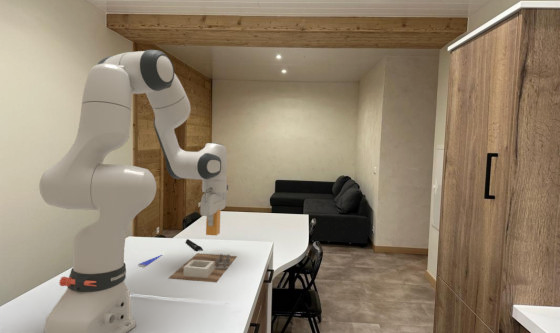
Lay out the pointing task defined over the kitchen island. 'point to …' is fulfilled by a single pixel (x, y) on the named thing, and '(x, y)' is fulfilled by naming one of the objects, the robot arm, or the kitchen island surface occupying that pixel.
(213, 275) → the board
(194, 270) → the end holder
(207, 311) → the kitchen island surface
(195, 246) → the electric trimmer
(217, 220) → the connector plug
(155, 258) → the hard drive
